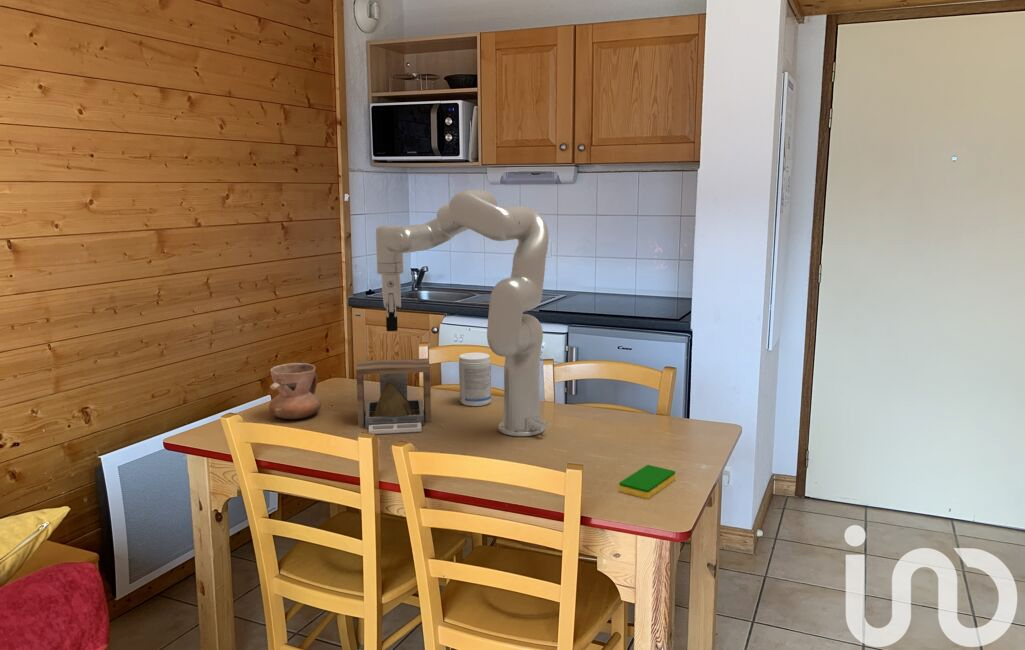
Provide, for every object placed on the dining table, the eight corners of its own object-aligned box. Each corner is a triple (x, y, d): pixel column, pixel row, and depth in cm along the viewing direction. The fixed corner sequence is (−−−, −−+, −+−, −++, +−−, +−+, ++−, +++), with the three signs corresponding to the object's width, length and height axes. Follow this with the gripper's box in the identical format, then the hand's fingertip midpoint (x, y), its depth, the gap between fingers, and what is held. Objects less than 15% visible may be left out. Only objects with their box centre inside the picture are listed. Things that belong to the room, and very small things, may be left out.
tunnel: (431, 422, 218) (429, 366, 215) (358, 425, 215) (356, 369, 212) (429, 411, 228) (428, 358, 225) (359, 415, 225) (357, 361, 222)
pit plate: (421, 432, 209) (421, 428, 209) (368, 435, 207) (368, 430, 207) (420, 426, 214) (420, 422, 214) (369, 429, 212) (369, 425, 212)
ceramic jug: (294, 427, 214) (291, 377, 211) (255, 420, 220) (251, 371, 217) (337, 410, 229) (335, 363, 226) (299, 403, 236) (297, 358, 233)
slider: (424, 424, 215) (423, 392, 213) (365, 427, 212) (364, 395, 210) (420, 399, 239) (419, 370, 237) (367, 402, 236) (366, 372, 235)
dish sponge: (675, 480, 177) (676, 470, 177) (647, 500, 166) (647, 490, 166) (647, 474, 181) (647, 464, 181) (618, 493, 171) (618, 482, 170)
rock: (424, 408, 223) (399, 398, 229) (413, 390, 217) (388, 379, 223) (400, 437, 218) (376, 426, 224) (388, 419, 212) (364, 408, 218)
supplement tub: (497, 402, 237) (497, 355, 234) (474, 409, 230) (474, 360, 228) (476, 396, 244) (475, 350, 241) (453, 402, 237) (452, 355, 234)
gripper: (403, 271, 219) (405, 335, 223) (402, 265, 234) (404, 325, 238) (376, 271, 218) (378, 336, 222) (377, 265, 233) (379, 325, 237)
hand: (392, 330), depth 230 cm, fingers closed
